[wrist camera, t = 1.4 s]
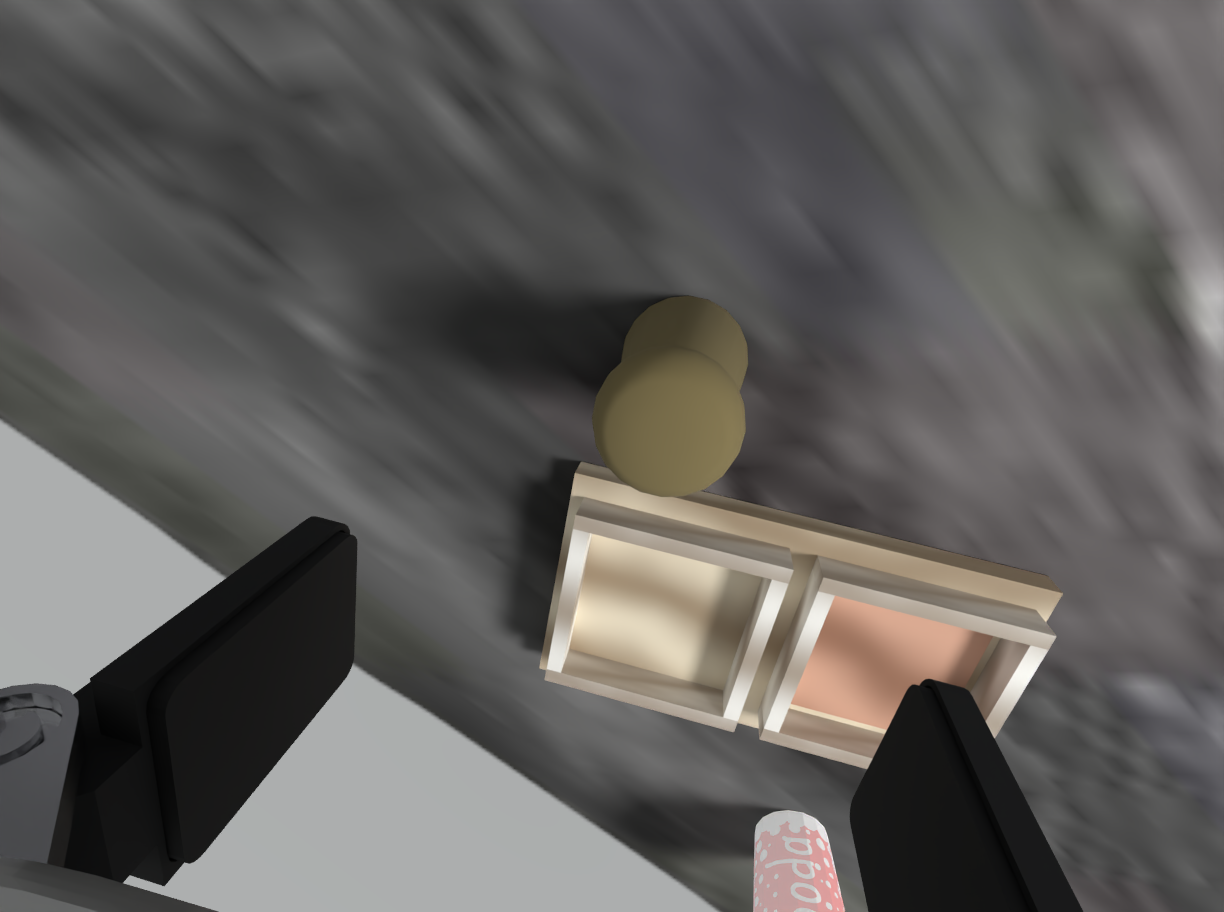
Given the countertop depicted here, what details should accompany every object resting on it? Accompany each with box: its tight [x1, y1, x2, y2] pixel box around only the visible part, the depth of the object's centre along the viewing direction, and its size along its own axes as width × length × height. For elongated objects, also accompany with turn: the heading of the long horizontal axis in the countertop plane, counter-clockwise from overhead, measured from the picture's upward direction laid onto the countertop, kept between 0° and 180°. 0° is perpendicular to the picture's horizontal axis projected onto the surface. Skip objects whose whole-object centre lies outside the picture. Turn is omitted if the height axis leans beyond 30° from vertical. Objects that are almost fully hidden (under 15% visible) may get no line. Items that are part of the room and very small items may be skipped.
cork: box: [592, 296, 748, 497], centre depth 24 cm, size 6×6×11 cm
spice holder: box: [540, 462, 1063, 769], centre depth 32 cm, size 13×24×4 cm, turn 79°
